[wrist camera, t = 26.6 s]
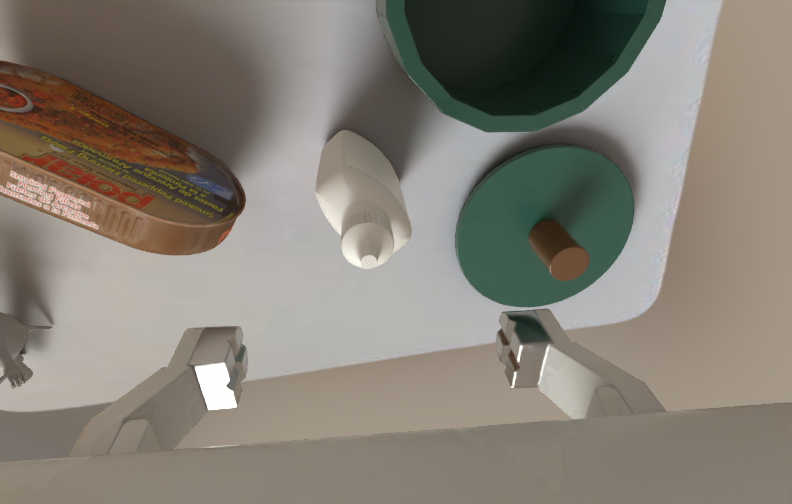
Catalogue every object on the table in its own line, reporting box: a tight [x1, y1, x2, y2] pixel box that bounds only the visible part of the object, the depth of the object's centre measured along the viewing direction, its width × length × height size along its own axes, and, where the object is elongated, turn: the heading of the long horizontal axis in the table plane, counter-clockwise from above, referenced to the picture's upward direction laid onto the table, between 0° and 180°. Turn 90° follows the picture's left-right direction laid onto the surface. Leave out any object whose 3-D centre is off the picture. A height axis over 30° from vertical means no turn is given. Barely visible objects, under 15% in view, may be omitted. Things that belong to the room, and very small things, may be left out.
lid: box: [455, 144, 634, 307], centre depth 30 cm, size 13×13×5 cm
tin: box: [0, 60, 246, 255], centre depth 23 cm, size 15×3×8 cm, turn 57°
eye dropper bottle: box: [316, 130, 411, 269], centre depth 23 cm, size 4×6×12 cm
